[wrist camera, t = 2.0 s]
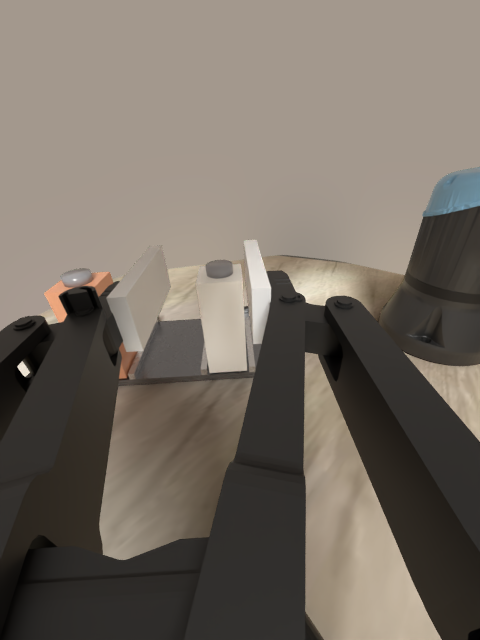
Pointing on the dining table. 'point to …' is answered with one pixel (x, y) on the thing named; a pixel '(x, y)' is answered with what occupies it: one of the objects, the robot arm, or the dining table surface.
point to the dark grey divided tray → (183, 355)
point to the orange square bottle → (100, 283)
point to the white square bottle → (222, 315)
